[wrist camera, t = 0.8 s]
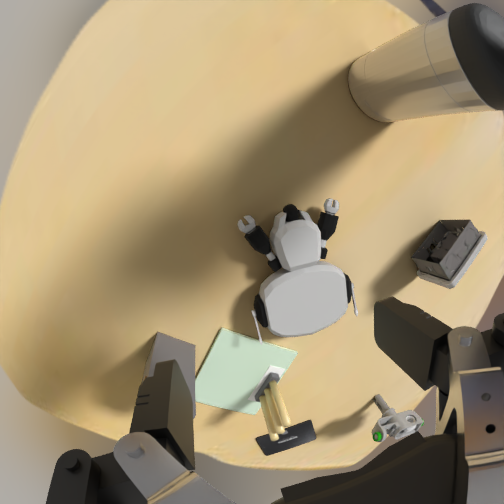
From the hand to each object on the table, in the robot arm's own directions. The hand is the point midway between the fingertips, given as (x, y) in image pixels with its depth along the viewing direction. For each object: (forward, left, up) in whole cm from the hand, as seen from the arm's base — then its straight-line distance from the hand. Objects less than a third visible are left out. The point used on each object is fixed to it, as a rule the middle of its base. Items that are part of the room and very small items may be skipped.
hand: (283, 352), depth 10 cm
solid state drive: (+30, +24, -23) cm, 45 cm away
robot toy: (+1, +9, -22) cm, 24 cm away
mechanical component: (+17, +36, -22) cm, 46 cm away
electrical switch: (-10, +26, -22) cm, 36 cm away
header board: (+18, +9, -22) cm, 30 cm away
